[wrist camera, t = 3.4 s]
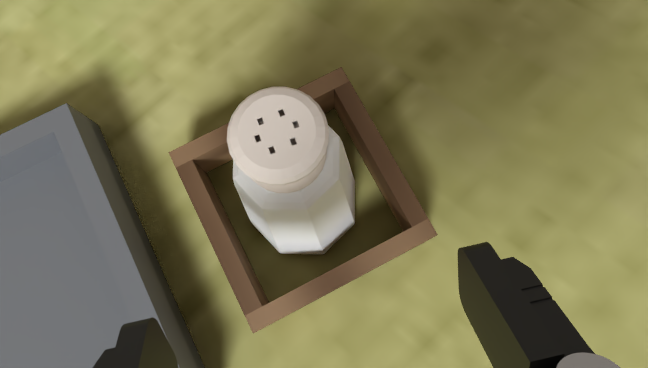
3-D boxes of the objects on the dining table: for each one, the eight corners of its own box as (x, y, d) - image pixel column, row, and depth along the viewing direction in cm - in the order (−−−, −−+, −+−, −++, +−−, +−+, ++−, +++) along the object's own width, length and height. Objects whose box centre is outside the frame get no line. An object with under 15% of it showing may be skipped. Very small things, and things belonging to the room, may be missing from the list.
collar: (340, 88, 25) (341, 67, 23) (427, 240, 23) (437, 234, 21) (185, 166, 24) (168, 152, 22) (262, 328, 23) (253, 333, 20)
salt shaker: (334, 133, 25) (332, 12, 14) (376, 233, 23) (410, 186, 13) (233, 172, 24) (151, 80, 13) (270, 275, 23) (214, 263, 12)
